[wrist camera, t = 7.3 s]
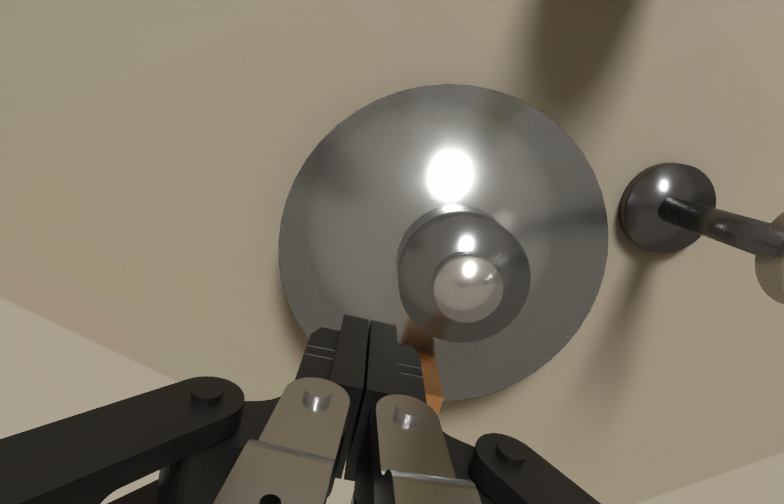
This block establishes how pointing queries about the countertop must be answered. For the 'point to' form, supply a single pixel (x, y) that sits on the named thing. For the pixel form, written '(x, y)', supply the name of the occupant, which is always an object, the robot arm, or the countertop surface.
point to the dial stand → (698, 220)
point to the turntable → (436, 189)
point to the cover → (461, 274)
